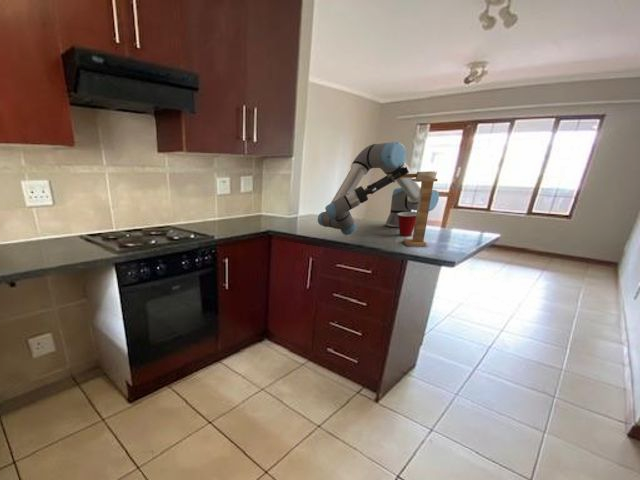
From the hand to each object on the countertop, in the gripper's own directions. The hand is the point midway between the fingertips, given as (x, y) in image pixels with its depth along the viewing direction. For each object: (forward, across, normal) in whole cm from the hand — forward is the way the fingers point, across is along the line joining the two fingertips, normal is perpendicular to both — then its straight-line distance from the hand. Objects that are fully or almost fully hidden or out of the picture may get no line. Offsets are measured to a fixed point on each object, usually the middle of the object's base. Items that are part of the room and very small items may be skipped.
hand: (405, 169), depth 152 cm
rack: (-10, 0, +34) cm, 35 cm away
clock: (0, 0, +5) cm, 5 cm away
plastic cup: (-9, +22, +34) cm, 42 cm away
